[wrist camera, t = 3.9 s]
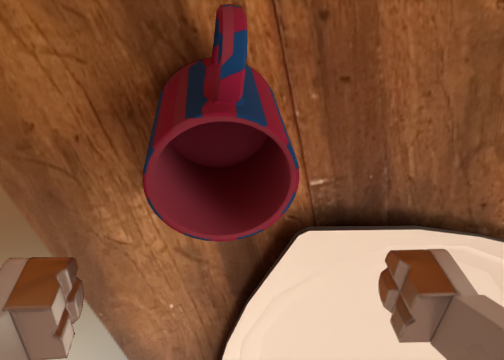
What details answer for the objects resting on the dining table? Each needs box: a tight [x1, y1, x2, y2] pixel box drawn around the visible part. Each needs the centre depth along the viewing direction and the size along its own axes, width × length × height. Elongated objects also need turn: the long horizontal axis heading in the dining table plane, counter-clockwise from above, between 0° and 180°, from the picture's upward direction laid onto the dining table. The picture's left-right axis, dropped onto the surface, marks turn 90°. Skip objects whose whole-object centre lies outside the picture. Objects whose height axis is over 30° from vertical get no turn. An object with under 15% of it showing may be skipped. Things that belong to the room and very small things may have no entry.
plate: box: [220, 226, 504, 360], centre depth 36 cm, size 29×29×3 cm
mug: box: [143, 4, 299, 241], centre depth 20 cm, size 7×10×7 cm
